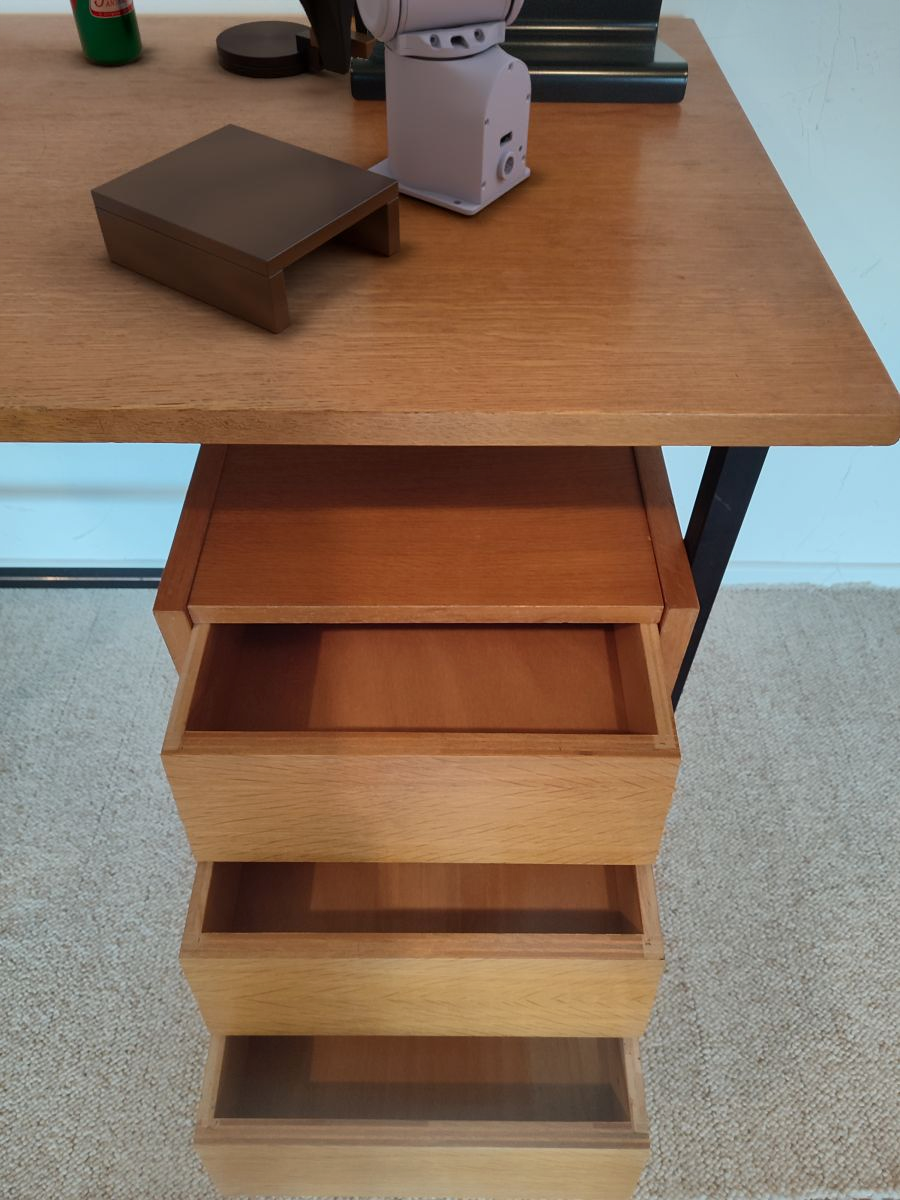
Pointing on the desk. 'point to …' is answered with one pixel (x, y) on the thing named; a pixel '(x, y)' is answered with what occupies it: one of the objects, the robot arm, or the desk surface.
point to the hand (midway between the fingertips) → (354, 62)
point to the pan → (278, 49)
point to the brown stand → (241, 218)
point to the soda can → (107, 30)
